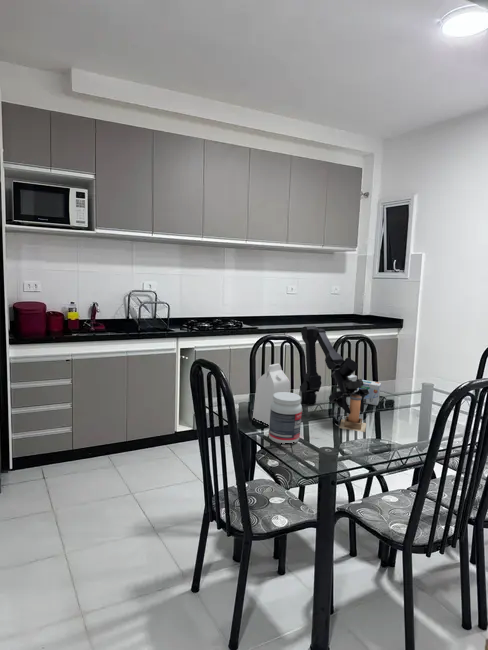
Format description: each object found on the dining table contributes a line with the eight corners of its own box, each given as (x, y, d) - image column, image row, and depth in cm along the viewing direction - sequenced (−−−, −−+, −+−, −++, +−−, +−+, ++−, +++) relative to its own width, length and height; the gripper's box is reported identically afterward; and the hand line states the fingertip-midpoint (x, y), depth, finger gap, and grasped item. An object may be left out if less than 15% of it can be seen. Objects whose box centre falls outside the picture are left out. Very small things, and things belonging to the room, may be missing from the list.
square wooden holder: (338, 431, 200) (339, 422, 199) (341, 422, 210) (342, 414, 209) (364, 435, 196) (365, 426, 196) (365, 426, 207) (366, 417, 206)
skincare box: (355, 403, 237) (358, 376, 235) (347, 405, 234) (350, 377, 231) (344, 399, 244) (346, 372, 242) (335, 400, 241) (338, 373, 238)
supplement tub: (302, 446, 182) (306, 401, 179) (270, 445, 181) (273, 400, 178) (296, 433, 195) (299, 391, 192) (266, 432, 194) (269, 390, 191)
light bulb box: (356, 402, 240) (358, 382, 239) (358, 398, 247) (360, 379, 245) (377, 405, 236) (379, 385, 235) (379, 401, 243) (381, 382, 241)
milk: (270, 413, 216) (274, 360, 212) (289, 421, 208) (293, 365, 204) (252, 419, 208) (255, 363, 203) (271, 427, 200) (275, 369, 195)
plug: (346, 426, 201) (349, 397, 199) (347, 422, 206) (350, 393, 204) (358, 428, 200) (361, 398, 198) (359, 424, 205) (362, 395, 202)
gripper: (335, 374, 199) (348, 406, 191) (368, 371, 207) (383, 402, 199) (322, 386, 207) (335, 418, 199) (355, 383, 215) (369, 413, 207)
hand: (356, 412), depth 201 cm, fingers open, 7 cm apart
